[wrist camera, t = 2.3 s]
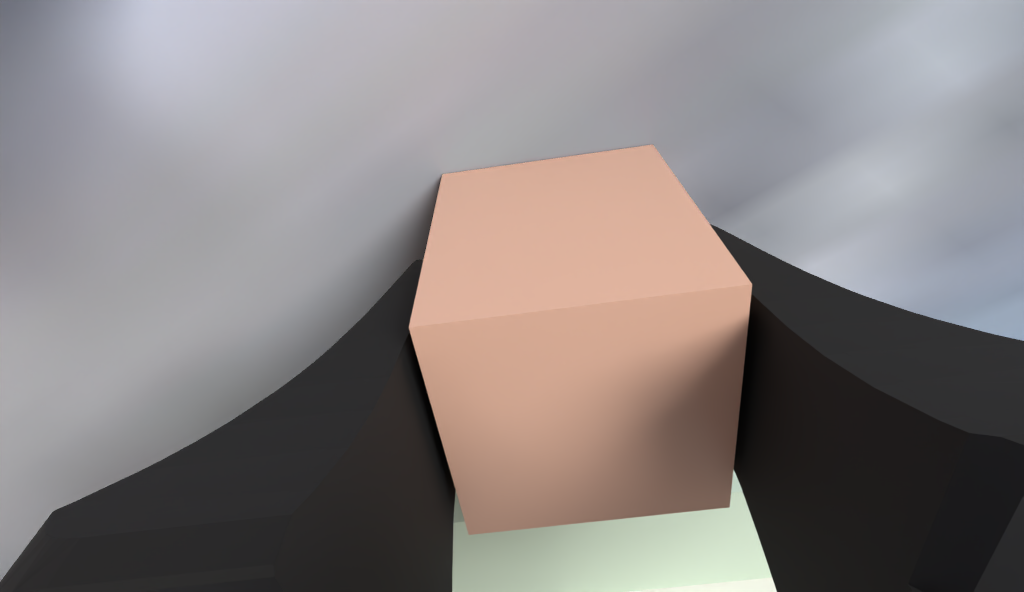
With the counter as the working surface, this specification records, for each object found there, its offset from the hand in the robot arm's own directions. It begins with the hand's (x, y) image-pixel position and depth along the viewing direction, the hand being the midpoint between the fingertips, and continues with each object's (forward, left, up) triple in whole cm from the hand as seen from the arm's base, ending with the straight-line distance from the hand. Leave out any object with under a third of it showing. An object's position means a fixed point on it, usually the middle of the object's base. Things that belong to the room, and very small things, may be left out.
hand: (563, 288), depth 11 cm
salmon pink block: (0, 0, -1) cm, 1 cm away
